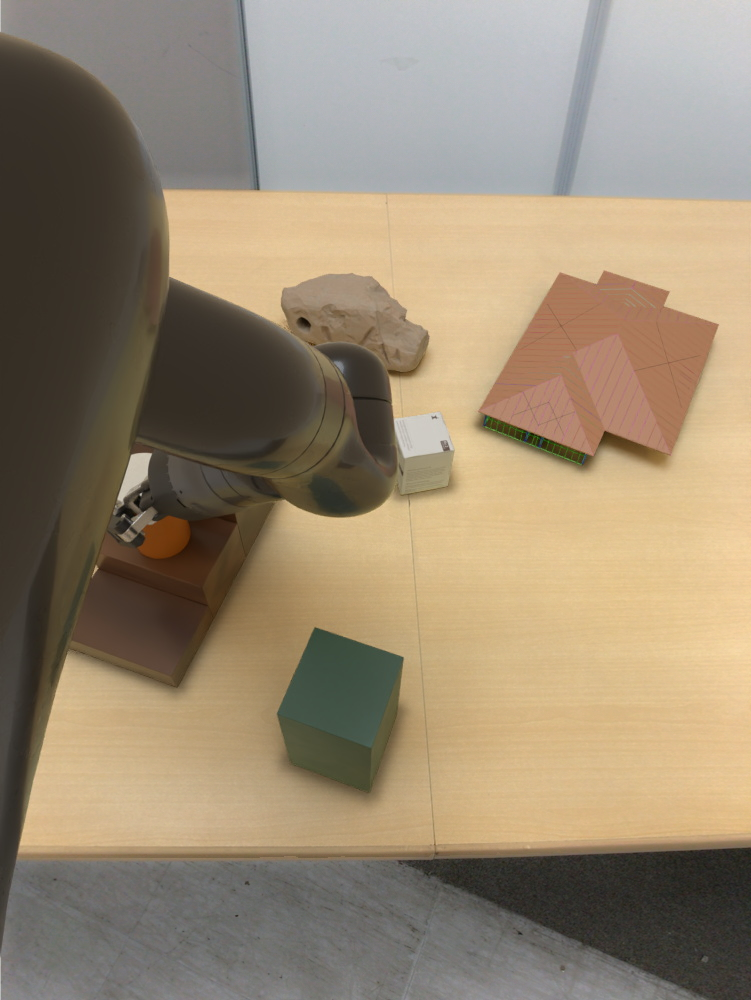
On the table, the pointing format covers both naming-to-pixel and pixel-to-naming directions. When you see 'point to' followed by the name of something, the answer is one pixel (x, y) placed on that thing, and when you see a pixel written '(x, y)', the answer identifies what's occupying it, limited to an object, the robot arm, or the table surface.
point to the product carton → (423, 452)
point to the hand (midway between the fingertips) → (134, 493)
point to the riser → (163, 595)
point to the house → (602, 367)
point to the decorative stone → (355, 318)
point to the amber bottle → (165, 533)
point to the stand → (341, 708)
